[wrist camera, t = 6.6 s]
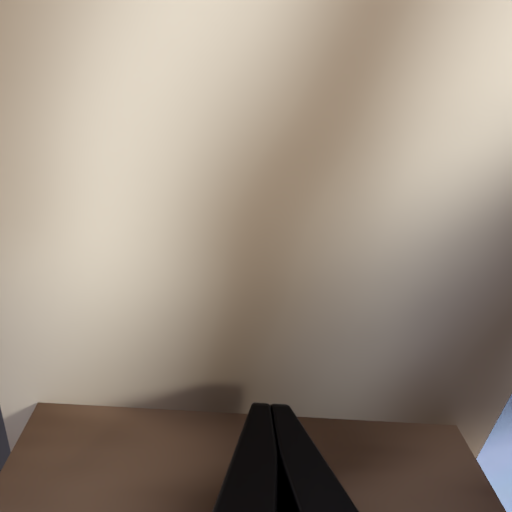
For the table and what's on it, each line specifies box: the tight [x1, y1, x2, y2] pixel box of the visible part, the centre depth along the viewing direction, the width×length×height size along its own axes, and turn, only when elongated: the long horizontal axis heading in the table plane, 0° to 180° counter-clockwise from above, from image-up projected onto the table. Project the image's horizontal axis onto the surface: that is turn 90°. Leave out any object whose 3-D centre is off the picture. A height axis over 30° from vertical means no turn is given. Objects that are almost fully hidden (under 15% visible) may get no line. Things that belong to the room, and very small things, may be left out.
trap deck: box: [0, 0, 512, 472], centre depth 11 cm, size 20×22×2 cm
